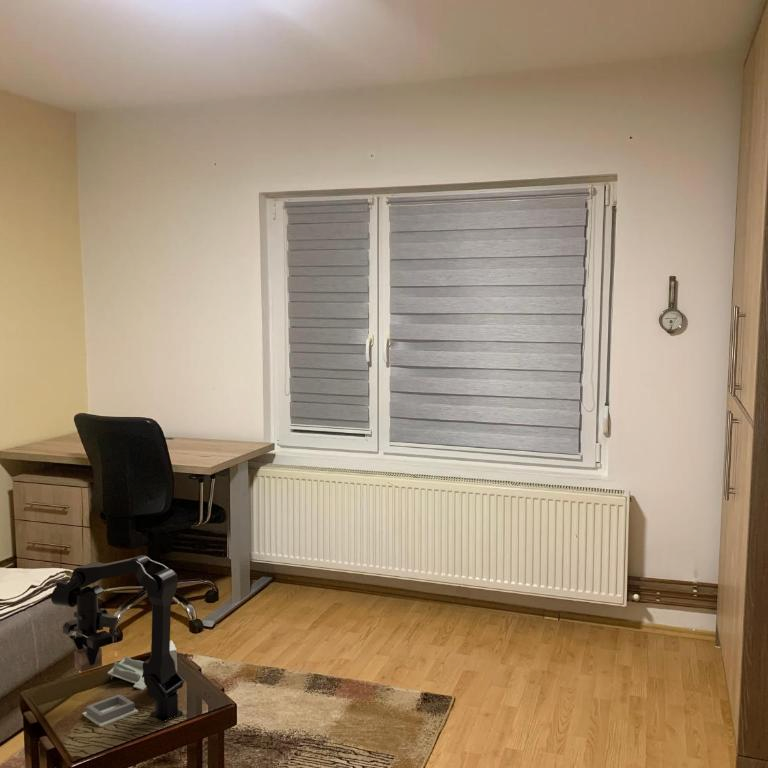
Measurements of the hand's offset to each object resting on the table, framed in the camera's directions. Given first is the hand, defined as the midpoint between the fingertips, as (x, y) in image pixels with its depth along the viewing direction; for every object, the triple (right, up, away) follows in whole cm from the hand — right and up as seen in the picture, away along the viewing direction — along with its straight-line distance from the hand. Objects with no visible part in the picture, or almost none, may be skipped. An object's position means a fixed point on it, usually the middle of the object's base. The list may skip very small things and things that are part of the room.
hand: (88, 662), depth 222 cm
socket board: (+9, -11, -7) cm, 16 cm away
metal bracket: (+8, -11, +15) cm, 20 cm away
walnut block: (0, -1, 0) cm, 1 cm away
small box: (+20, -11, +7) cm, 23 cm away
